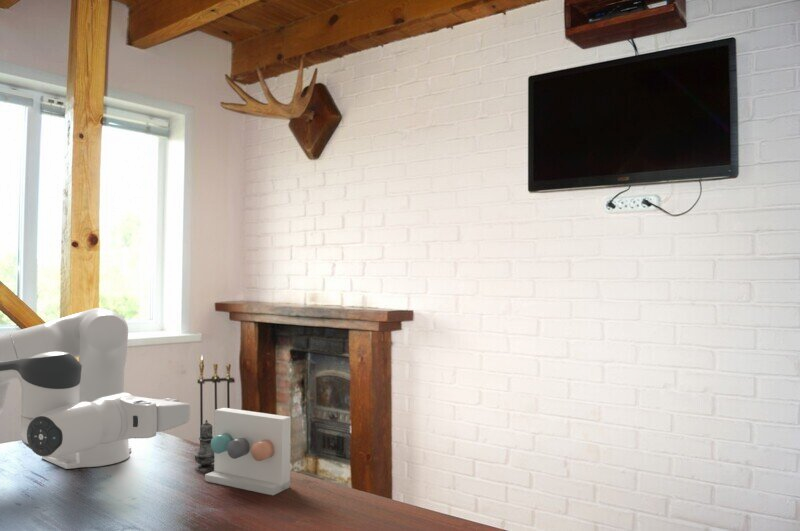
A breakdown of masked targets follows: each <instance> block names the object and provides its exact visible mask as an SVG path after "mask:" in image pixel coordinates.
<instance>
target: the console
mask: <svg viewBox="0 0 800 531" xmlns="http://www.w3.org/2000/svg"><path fill="white" fill-rule="evenodd" d="M291 418H292V417H291V416H287V415H280V414H273V413H267V412H258V411H251V410H245V409H238V408H237V409H235V408H231V407H230V408H229V407H221V408H217V409H214V437H215V436H218V435H221V434H224V433H227V434H229V435H230V436H231V437H232V439H233V440H236V439H239V438H245V439H246V440H247V441H248V442H249V446H250V449H249V452H248V454H246V455H244V456H242V457H239V458H236V459H233V458H231V457H230V456H229V455H228V452H227V451H225V452H222V453H219V454H217V453H215V452H214V462H213V464H214V470H212V471H211V472H210V471H209V472H208V473H205V474H204V482H207V483H213V484H217V485H222V486H226V487H231V488H236V489H240V490H241V489H242V490H245V491H250V492H255V493H260V494H264V495H269V496H275V495H277V494H279V493H281V492H283V491H285V490H288V489H289V488H290V487H291V486H290V485H291V430H292V429H291V427H292V426H291V421H292V420H291ZM263 440H269V441H270V442H271V443H272V444H273V447H274V453H273V455H272V456H271V457H270V458H267V459H265V460H262V461H256V460H255V459H254V458H253V457H252V454H251V448H252V446H253V445H254V444H255V443H258V442H261V441H263Z"/></svg>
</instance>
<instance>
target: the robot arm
mask: <svg viewBox="0 0 800 531" xmlns="http://www.w3.org/2000/svg"><path fill="white" fill-rule="evenodd" d="M128 336H129V327H128V323H127V321H126V319H125V318H124V317H123V316H122V315H121V314H119V313H118V312H116V311H113V310H110V309H108V308H104V307H94V308H90V309H86V310H84V311H80V312H77V313H73V314H70V315H67V316H64V317H61V318H57V319H54V320H50V321H47V322H43V323H40V324H36V325H33V326H30V327H29V326H28V327H26V328H21V329H18V330H15V331H14V330H13V331H11V332H8V333H3V334H0V415H1V414H2V412H3V410H4V407H5V403H6V397H7V392H8V389H9V387H10V384H11V382H12V381H16V380H17V381H18V380H19V383H20V387H21V402H20V404H21V406H20V408H21V413H20V434H21V441H22V443H23V444H24V445H25V446H26V447H27V448H29V449H30V450H31V451H32V452H33V453H34V454H35V455H36V456H39V457H41V459H43V460H45V461H47V462H48V463H49V462H50V463H51V464H54V465H56V466H58V467H61V468H63V469H65V470H67V469H69V470H70V469H78V468H93V467H104V466H108V465H114V464H117V463H120V462H124V461H126V460H128V459H129V458H130V456H131V454H130V453H131V452H132V447H131V446H129V439H150V438H154V437H156V436H157V433H159V432H165V431H166V432H167V431H169V430H172V429H175V428H178V427H179V426H182V425H184V424H185V425H186V424H187V423H188V422H189V421H190V419H191V404H190V403H189V402H180V400H179V399H176V398H170V397H166V398H163V399H162V398H160V399H159V398H150V397H145V396H143V397H142V396H136V395H133V394H131V393H129V392H125V388H124V387H125V368H126V367H125V366H126V361H127V360H126V359H127V350H128V342H129V340H128V339H129V338H128ZM77 358H78V359H77Z"/></svg>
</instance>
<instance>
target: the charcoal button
mask: <svg viewBox="0 0 800 531" xmlns="http://www.w3.org/2000/svg"><path fill="white" fill-rule="evenodd" d="M249 449H250V446H249V442H248V441H247V440H246V439H245V438H239V439H236V440H233V441H230V442H229V443H228V445H227V452H228V455H229V456H230V457H231V458H233V459H236V458H239V457H242V456H244V455H246V454H248V452H249Z"/></svg>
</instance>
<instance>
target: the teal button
mask: <svg viewBox="0 0 800 531" xmlns="http://www.w3.org/2000/svg"><path fill="white" fill-rule="evenodd" d="M212 437H213V438H212V440H211V448H212V450H213V451H214V452H215V453H217V454H219V453H222V452H225V451H227V445H228V443H229V442H230V441H233V439H232V437H231V436H230V435H229V434H227V433H224V434H221V435H218V436H215V435H214V436H212Z"/></svg>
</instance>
